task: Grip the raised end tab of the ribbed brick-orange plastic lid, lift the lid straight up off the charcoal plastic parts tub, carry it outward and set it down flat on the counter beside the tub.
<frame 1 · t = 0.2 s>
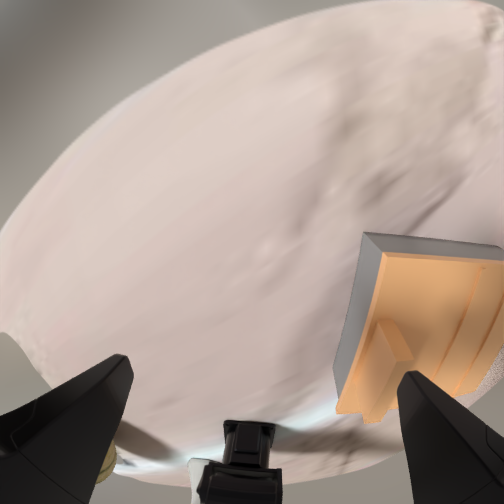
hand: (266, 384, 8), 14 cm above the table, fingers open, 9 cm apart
cantaloupe: (92, 418, 36), on the table
tub: (423, 309, 22), on the table
lid: (446, 341, 17), point 5 cm above the table, touching tub
flask: (207, 464, 37), on the table
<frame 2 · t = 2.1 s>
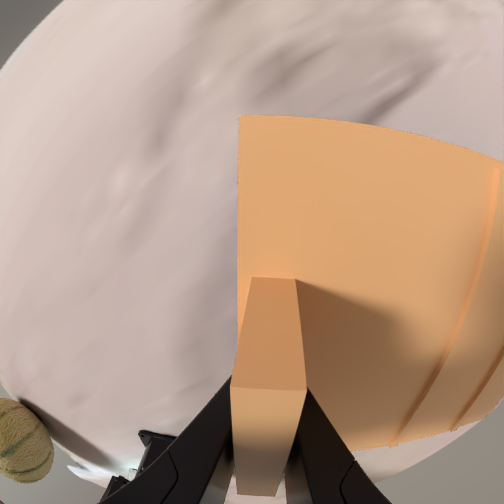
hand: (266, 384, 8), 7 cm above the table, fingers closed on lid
cantaloupe: (33, 413, 27), on the table
lid: (441, 338, 9), point 5 cm above the table, touching gripper, tub
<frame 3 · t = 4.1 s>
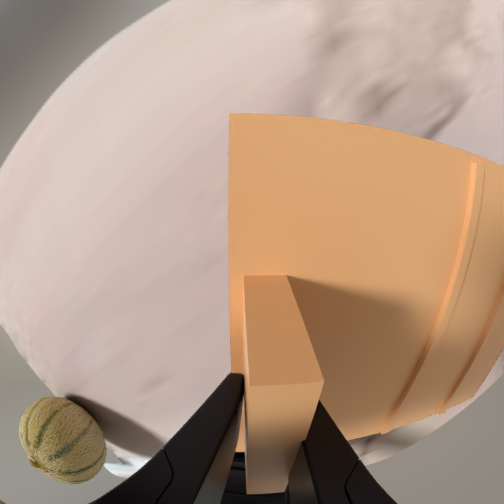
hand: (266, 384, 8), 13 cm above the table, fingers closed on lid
cantaloupe: (81, 409, 32), on the table
lid: (425, 325, 10), point 9 cm above the table, tilted 8°, touching gripper
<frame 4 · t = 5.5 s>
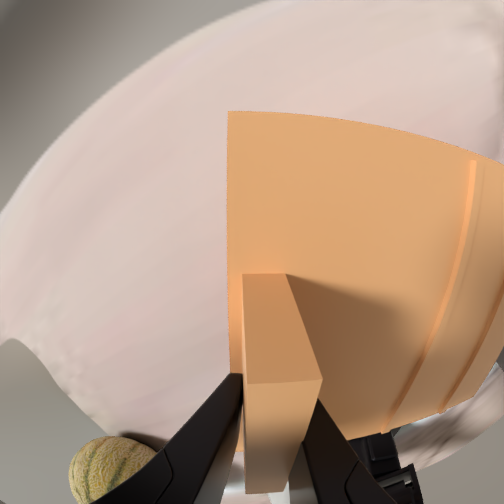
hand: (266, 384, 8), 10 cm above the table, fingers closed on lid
cantaloupe: (140, 445, 28), on the table
lid: (425, 324, 10), point 6 cm above the table, tilted 8°, touching gripper
flask: (288, 482, 29), on the table
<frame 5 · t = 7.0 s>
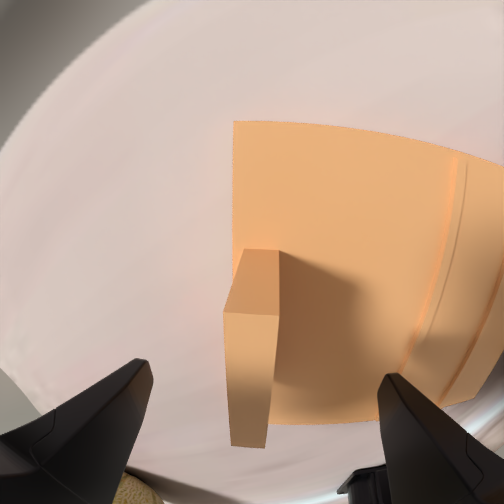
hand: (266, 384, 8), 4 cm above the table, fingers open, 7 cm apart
cantaloupe: (129, 474, 23), on the table
lid: (416, 312, 11), on the table
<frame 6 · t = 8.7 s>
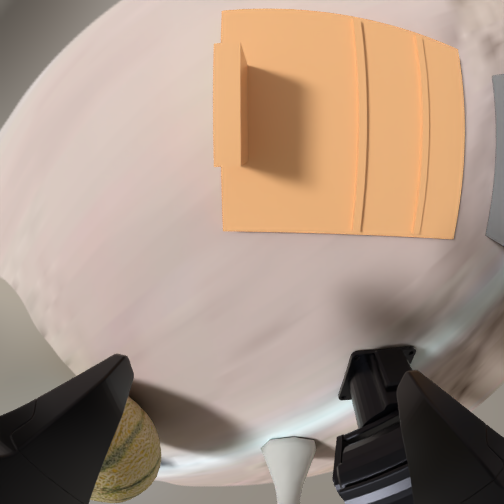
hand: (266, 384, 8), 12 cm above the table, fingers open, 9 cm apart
cantaloupe: (120, 399, 27), on the table
lid: (357, 119, 15), on the table
flask: (288, 446, 28), on the table
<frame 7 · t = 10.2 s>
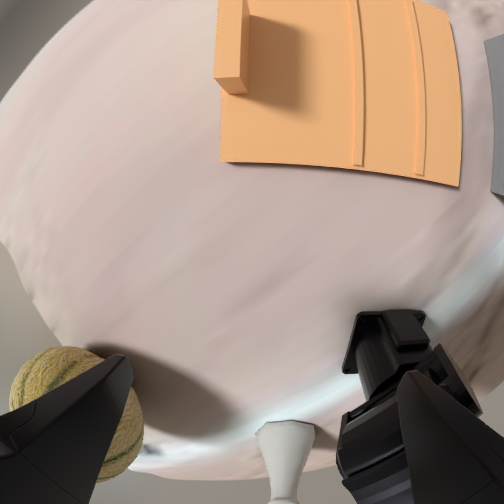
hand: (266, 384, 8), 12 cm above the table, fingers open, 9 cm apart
cantaloupe: (105, 371, 26), on the table
lid: (353, 63, 14), on the table
flask: (285, 432, 27), on the table
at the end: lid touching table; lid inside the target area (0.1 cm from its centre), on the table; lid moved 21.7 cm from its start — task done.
